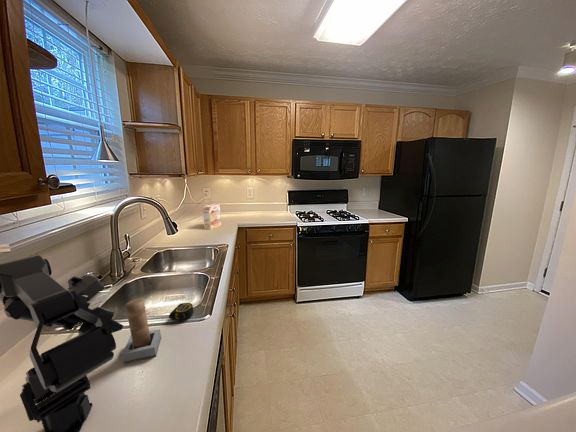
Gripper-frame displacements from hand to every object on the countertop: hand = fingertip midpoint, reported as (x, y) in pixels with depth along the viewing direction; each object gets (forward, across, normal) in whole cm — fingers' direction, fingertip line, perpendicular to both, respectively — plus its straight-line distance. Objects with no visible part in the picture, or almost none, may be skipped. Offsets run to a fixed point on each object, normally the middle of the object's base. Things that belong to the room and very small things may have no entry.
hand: (111, 322), depth 63 cm
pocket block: (+14, 0, +5) cm, 15 cm away
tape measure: (+26, +3, -6) cm, 27 cm away
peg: (+14, 0, +5) cm, 15 cm away
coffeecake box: (+99, +83, -79) cm, 151 cm away
